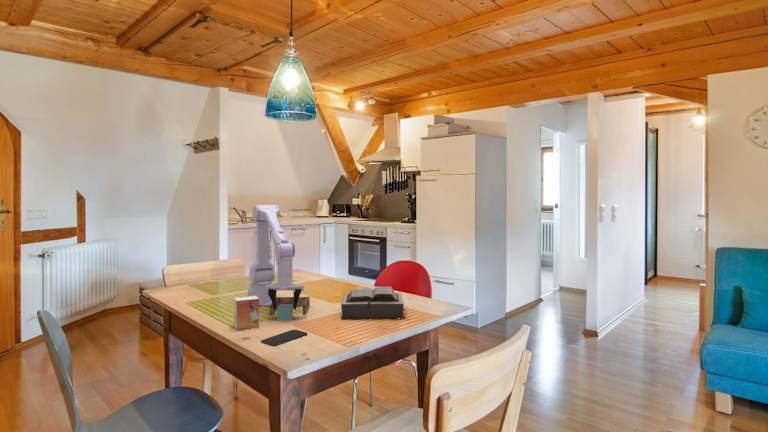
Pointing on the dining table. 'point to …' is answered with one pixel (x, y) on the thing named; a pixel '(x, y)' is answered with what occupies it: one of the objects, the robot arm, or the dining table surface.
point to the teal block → (284, 312)
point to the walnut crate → (301, 302)
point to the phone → (283, 337)
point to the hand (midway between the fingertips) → (285, 308)
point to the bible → (372, 304)
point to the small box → (246, 312)
